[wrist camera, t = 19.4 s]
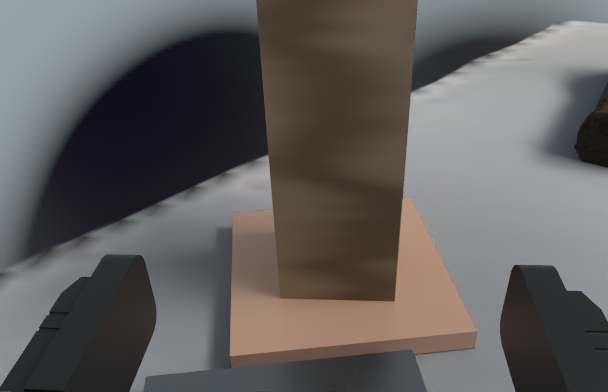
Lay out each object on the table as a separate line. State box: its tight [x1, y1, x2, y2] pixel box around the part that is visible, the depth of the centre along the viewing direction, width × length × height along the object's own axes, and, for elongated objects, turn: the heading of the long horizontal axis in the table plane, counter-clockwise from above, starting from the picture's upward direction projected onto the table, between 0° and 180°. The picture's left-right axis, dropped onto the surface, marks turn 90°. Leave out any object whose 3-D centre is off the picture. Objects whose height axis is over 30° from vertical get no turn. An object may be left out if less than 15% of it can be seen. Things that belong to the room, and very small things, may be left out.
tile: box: [230, 198, 477, 368], centre depth 26 cm, size 10×10×1 cm
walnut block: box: [256, 0, 418, 302], centre depth 22 cm, size 5×5×13 cm
